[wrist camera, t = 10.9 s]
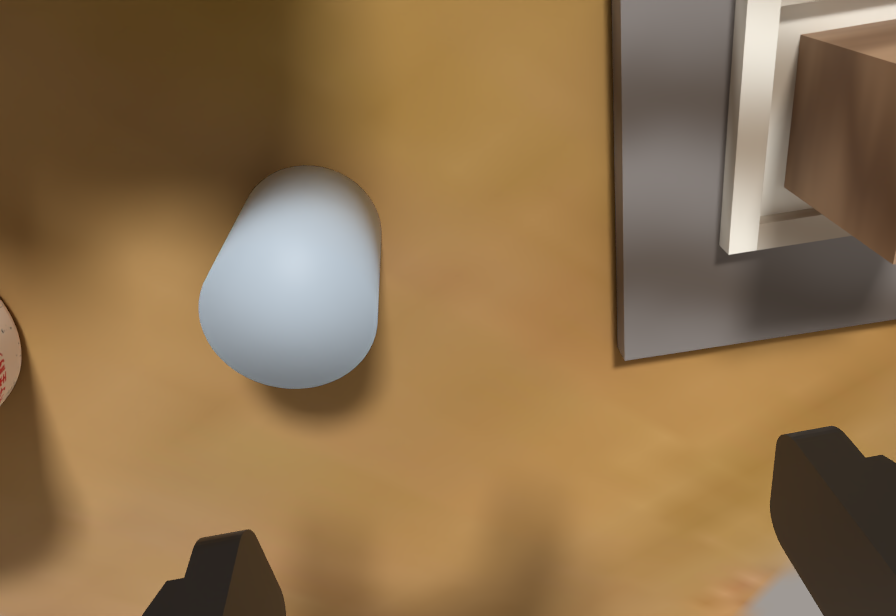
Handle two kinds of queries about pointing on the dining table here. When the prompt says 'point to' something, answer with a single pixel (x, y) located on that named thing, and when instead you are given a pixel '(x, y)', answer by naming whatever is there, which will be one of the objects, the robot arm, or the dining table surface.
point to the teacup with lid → (8, 353)
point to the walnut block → (847, 131)
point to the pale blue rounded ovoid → (296, 281)
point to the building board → (725, 180)
